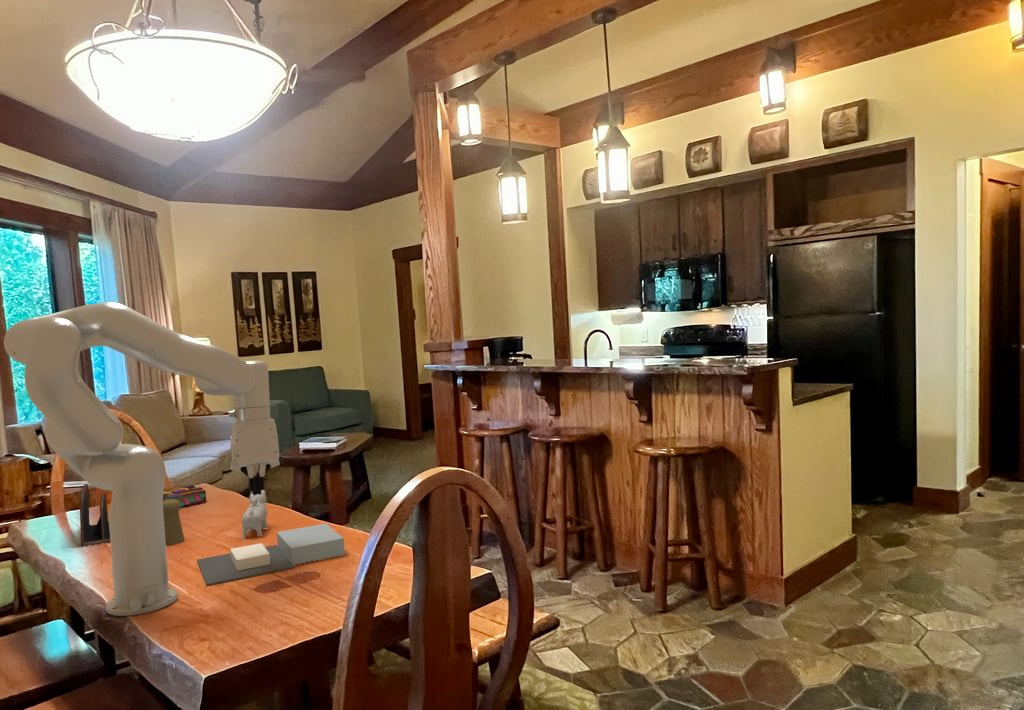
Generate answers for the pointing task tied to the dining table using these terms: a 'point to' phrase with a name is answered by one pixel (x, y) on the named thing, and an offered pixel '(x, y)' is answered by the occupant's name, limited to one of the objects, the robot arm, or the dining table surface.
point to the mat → (225, 570)
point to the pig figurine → (255, 514)
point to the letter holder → (93, 532)
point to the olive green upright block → (172, 522)
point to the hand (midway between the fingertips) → (256, 493)
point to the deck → (310, 543)
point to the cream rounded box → (250, 556)
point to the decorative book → (185, 495)
